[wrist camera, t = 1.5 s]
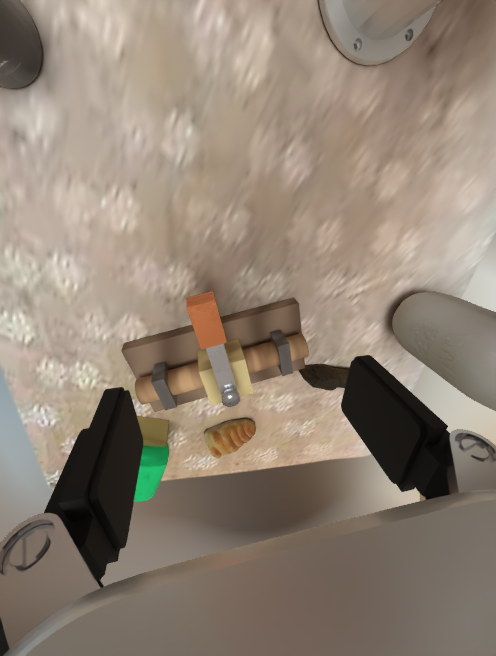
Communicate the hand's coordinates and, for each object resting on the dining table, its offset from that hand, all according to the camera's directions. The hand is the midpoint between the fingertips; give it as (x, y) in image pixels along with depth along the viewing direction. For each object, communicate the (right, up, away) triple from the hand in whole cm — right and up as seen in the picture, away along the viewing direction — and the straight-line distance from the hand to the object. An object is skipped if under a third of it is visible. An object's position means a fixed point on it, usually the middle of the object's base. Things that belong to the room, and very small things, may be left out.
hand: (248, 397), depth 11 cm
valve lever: (-4, +1, +19) cm, 20 cm away
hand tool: (+17, -6, +37) cm, 41 cm away
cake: (-19, -16, +34) cm, 42 cm away
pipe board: (-4, -1, +29) cm, 29 cm away
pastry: (-4, -16, +38) cm, 42 cm away
